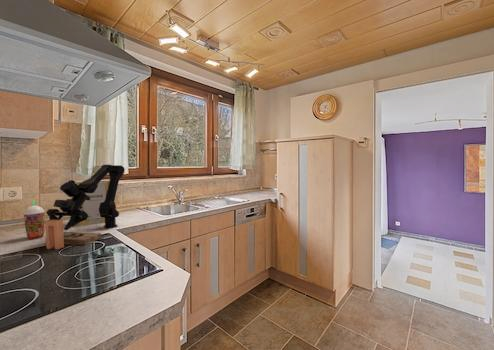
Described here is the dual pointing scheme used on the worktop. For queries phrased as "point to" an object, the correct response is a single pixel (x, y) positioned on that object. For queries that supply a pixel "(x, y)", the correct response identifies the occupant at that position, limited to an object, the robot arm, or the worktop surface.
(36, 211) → the smoothie
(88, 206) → the pasta box
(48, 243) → the clip
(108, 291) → the worktop surface
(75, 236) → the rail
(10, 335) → the worktop surface
